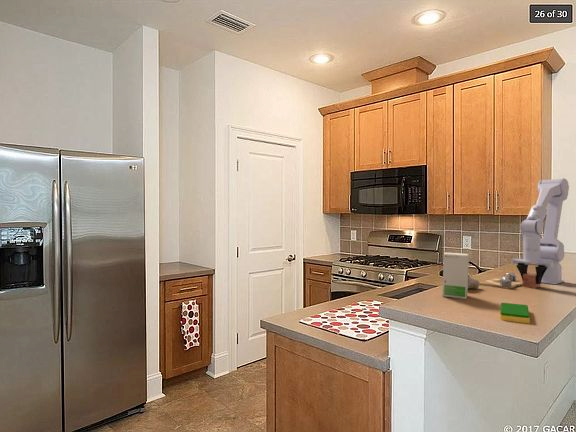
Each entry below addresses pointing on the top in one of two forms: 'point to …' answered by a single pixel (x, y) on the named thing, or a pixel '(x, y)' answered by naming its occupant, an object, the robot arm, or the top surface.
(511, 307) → the dish sponge
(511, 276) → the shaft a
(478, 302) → the top surface
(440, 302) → the top surface
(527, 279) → the reddish brown block
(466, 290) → the skincare box
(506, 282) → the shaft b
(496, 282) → the base board
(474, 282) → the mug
